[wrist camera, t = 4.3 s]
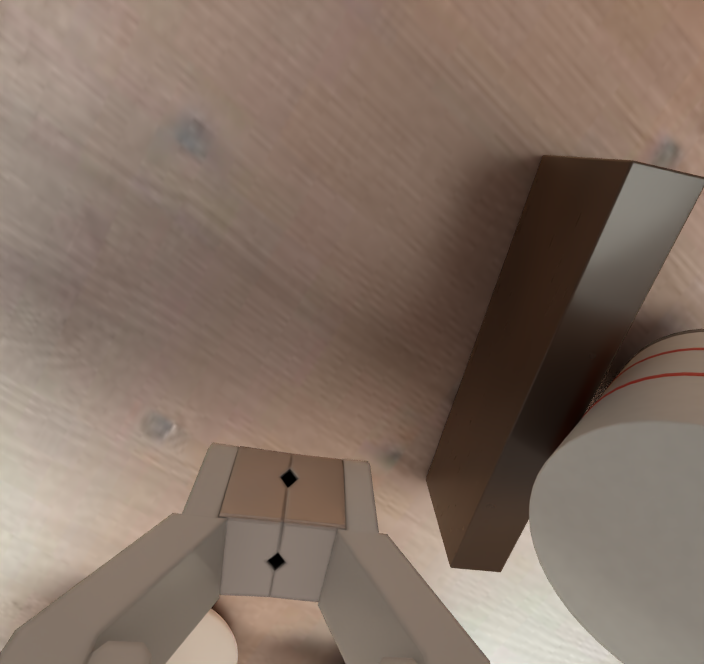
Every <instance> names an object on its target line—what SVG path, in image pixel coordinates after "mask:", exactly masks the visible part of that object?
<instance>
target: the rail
mask: <svg viewBox="0 0 704 664" xmlns="http://www.w3.org/2000/svg"><path fill="white" fill-rule="evenodd" d="M703 188H704V177H701V176H697V175H693V174H689V173H684V172H680V171H676V170H672V169H667V168H663V167H659V166H655V165H650V164H646V163H642V162H638V161H633V160H618V159H602V158H586V157H570V156H555V155H543V157H542V160H541V163H540V165H539V168H538V171H537V174H536V176H535V179H534V182H533V185H532V187H531V190H530V193H529V196H528V198H527V201H526V204H525V207H524V210H523V212H522V215H521V218H520V221H519V223H518V226H517V229H516V232H515V234H514V237H513V240H512V243H511V246H510V248H509V251H508V254H507V257H506V259H505V262H504V265H503V268H502V270H501V273H500V276H499V279H498V281H497V284H496V287H495V290H494V293H493V295H492V298H491V301H490V304H489V306H488V309H487V312H486V315H485V317H484V320H483V323H482V326H481V329H480V331H479V334H478V337H477V340H476V342H475V345H474V348H473V351H472V353H471V356H470V359H469V362H468V364H467V367H466V370H465V373H464V376H463V378H462V381H461V384H460V387H459V389H458V392H457V395H456V398H455V400H454V403H453V406H452V409H451V412H450V414H449V417H448V420H447V423H446V425H445V428H444V431H443V434H442V436H441V439H440V442H439V445H438V448H437V450H436V453H435V456H434V459H433V461H432V464H431V467H430V470H429V472H428V475H427V478H426V482H427V486H428V489H429V493H430V497H431V500H432V504H433V507H434V511H435V514H436V518H437V522H438V525H439V529H440V532H441V536H442V539H443V543H444V546H445V550H446V554H447V557H448V561H449V564H450V567H451V568H459V569H470V570H482V571H493V572H501V571H502V569H503V567H504V565H505V563H506V561H507V559H508V558H509V556H510V554H511V552H512V550H513V548H514V546H515V544H516V542H517V540H518V539H519V537H520V535H521V533H522V531H523V529H524V527H525V525H526V523H527V522H528V520H529V504H530V497H531V492H532V488H533V485H534V482H535V480H536V478H537V475H538V473H539V472H540V470H541V468H542V467H543V465H544V464H545V462H546V461H547V460H548V459H549V457H550V456H551V455H552V454H553V453H554V451H555V450H556V449H557V448H558V447H559V445H560V444H561V443H562V442H563V441H564V439H565V438H566V437H567V436H568V435H569V433H570V432H571V431H572V430H573V429H574V427H575V426H576V425H577V424H578V423H579V421H580V420H581V419H582V417H583V415H584V414H585V412H586V410H587V408H588V406H589V404H590V402H591V400H592V398H593V396H594V395H595V393H596V391H597V389H598V387H599V385H600V383H601V381H602V379H603V378H604V376H605V374H606V372H607V370H608V368H609V366H610V364H611V362H612V360H613V359H614V357H615V355H616V353H617V351H618V349H619V347H620V345H621V343H622V342H623V340H624V338H625V336H626V334H627V332H628V330H629V328H630V326H631V324H632V323H633V321H634V319H635V317H636V315H637V313H638V311H639V309H640V307H641V306H642V304H643V302H644V300H645V298H646V296H647V294H648V292H649V290H650V288H651V287H652V285H653V283H654V281H655V279H656V277H657V275H658V273H659V271H660V270H661V268H662V266H663V264H664V262H665V260H666V258H667V256H668V254H669V252H670V251H671V249H672V247H673V245H674V243H675V241H676V239H677V237H678V235H679V234H680V232H681V230H682V228H683V226H684V224H685V222H686V220H687V218H688V216H689V215H690V213H691V211H692V209H693V207H694V205H695V203H696V201H697V199H698V197H699V196H700V194H701V192H702V190H703Z"/></svg>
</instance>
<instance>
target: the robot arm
mask: <svg viewBox="0 0 704 664" xmlns="http://www.w3.org/2000/svg"><path fill="white" fill-rule="evenodd" d="M219 595H235V596H258V597H274V598H283V599H293V600H302V601H312V602H319V603H318V606H319V608H320V610H321V612H322V614H323V617H324V619H325V621H326V623H327V625H328V627H329V629H330V632H331V634H332V636H333V638H334V640H335V642H336V644H337V646H338V649H339V651H340V653H341V655H342V657H343V659H344V661H345V664H490V661H489V660H488V658H487V657H486V656H485V655H484V653H483V652H482V651H481V650H480V648H479V647H478V646H477V645H476V643H475V642H474V641H473V640H472V639H471V637H470V636H469V635H468V634H467V632H466V631H465V630H464V629H463V627H462V626H461V625H460V624H459V623H458V621H457V620H456V619H455V618H454V616H453V615H452V614H451V613H450V611H449V610H448V609H447V608H446V606H445V605H444V604H443V603H442V602H441V600H440V599H439V598H438V597H437V595H436V594H435V593H434V592H433V590H432V589H431V588H430V587H429V585H428V584H427V583H426V582H425V581H424V579H423V578H422V577H421V576H420V574H419V573H418V572H417V571H416V569H415V568H414V567H413V566H412V565H411V563H410V562H409V561H408V560H407V558H406V557H405V556H404V555H403V553H402V552H401V551H400V550H399V548H398V547H397V546H396V545H395V544H394V542H393V541H392V540H391V539H390V537H389V536H388V535H387V534H380V533H379V531H378V523H377V515H376V507H375V500H374V492H373V484H372V476H371V469H370V464H369V463H368V461H360V460H350V459H336V458H328V457H319V456H310V455H301V454H292V453H285V452H278V451H271V450H264V449H257V448H250V447H243V446H240V447H238V446H232V445H226V444H219V443H212V444H211V445H210V447H209V448H208V450H207V453H206V455H205V457H204V460H203V462H202V465H201V467H200V470H199V472H198V475H197V477H196V480H195V482H194V485H193V487H192V490H191V492H190V495H189V497H188V500H187V502H186V505H185V507H184V510H183V512H182V514H177V513H172V514H171V515H170V516H168V517H167V518H166V519H164V520H163V521H162V522H160V523H159V524H158V525H156V526H155V527H153V528H152V529H151V530H149V531H148V532H147V533H145V534H144V535H143V536H141V537H140V538H139V539H137V540H136V541H135V542H133V543H132V544H131V545H129V546H128V547H127V548H125V549H124V550H123V551H121V552H120V553H119V554H117V555H116V556H115V557H113V558H112V559H111V560H109V561H108V562H106V563H105V564H104V565H102V566H101V567H100V568H98V569H97V570H96V571H94V572H93V573H92V574H90V575H89V576H88V577H86V578H85V579H84V580H82V581H81V582H80V583H78V584H77V585H76V586H74V587H73V588H72V589H70V590H69V591H68V592H66V593H65V594H64V595H62V596H61V597H59V598H58V599H57V600H55V601H54V602H53V603H51V604H50V605H49V606H47V607H46V608H45V609H43V610H42V611H41V612H39V613H38V614H37V615H35V616H34V617H33V618H31V619H30V620H29V621H27V622H26V623H25V624H23V625H22V626H21V627H19V628H18V629H16V630H15V631H14V633H13V634H12V636H11V638H10V639H9V641H8V642H7V644H6V645H5V647H4V648H3V650H2V651H1V653H0V664H166V662H167V661H168V660H169V659H170V658H171V656H172V655H173V654H174V653H175V651H176V650H177V649H178V648H179V647H180V645H181V644H182V643H183V642H184V641H185V639H186V638H187V637H188V636H189V634H190V633H191V632H192V631H193V630H194V628H195V627H196V626H197V625H198V623H199V622H200V621H201V620H202V619H203V617H204V616H205V615H206V614H207V613H208V611H209V610H210V609H211V608H212V606H213V605H214V604H215V603H216V602H217V600H218V599H219Z"/></svg>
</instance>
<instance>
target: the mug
mask: <svg viewBox="0 0 704 664" xmlns="http://www.w3.org/2000/svg"><path fill="white" fill-rule="evenodd" d="M237 660H238V648H237V643H236V640H235V637H234V635H233V633H232V631H231V629H230V627H229V626H228V624H227V623H226V622H225V620H224V619H223V618H222V617H221V616H220V615H219V614H218V613H217V612H215V611H214V610H213V609H210V610H209V611H208V613H207V614H206V615H205V616H204V617H203V619H202V620H201V621H200V622H199V623H198V625H197V626H196V627H195V628H194V630H193V631H192V632H191V633H190V634H189V636H188V637H187V638H186V639H185V641H184V642H183V643H182V644H181V645H180V647H179V648H178V649H177V650H176V651H175V653H174V654H173V655H172V656H171V658H170V659H169V660H168V661H167V662H166V664H237Z"/></svg>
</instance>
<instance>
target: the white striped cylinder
mask: <svg viewBox="0 0 704 664" xmlns="http://www.w3.org/2000/svg"><path fill="white" fill-rule="evenodd" d="M529 522H530V532H531V536H532V540H533V545H534V548H535V551H536V554H537V556H538V559H539V562H540V564H541V566H542V568H543V570H544V572H545V575H546V577H547V579H548V580H549V582H550V584H551V585H552V587H553V589H554V590H555V592H556V594H557V595H558V596H559V598H560V599H561V601H562V602H563V603H564V605H565V606H566V607H567V609H568V610H569V611H570V613H571V614H572V615H573V616H574V617H575V618H576V619H577V621H578V622H579V623H580V624H581V625H582V626H583V627H584V628H585V629H586V630H587V631H588V632H589V633H590V634H591V635H592V636H593V637H594V638H595V639H596V640H597V641H598V642H599V643H600V644H601V645H602V646H603V647H604V648H605V649H607V650H608V651H609V652H610V653H611V654H612V655H614V656H615V657H616V658H617V659H618V660H620V661H621V662H622V663H624V664H704V329H696V330H688V331H683V332H679V333H674V334H672V335H669V336H666V337H663V338H661V339H659V340H656V341H654V342H652V343H651V344H649V345H647V346H646V347H644V348H643V349H641V350H640V351H639V352H638V353H637V354H635V355H634V356H633V357H632V359H631V360H630V361H629V362H628V363H627V364H626V365H625V367H624V368H623V370H622V371H621V372H620V374H619V375H618V376H617V377H616V378H615V379H614V380H613V381H612V382H611V383H610V385H609V386H608V387H607V388H606V390H605V391H604V393H603V394H602V395H601V396H600V397H599V399H598V400H597V401H596V402H595V403H594V404H593V405H592V406H591V407H590V409H589V410H588V411H587V412H586V413H585V414H584V415H583V417H582V419H581V420H580V421H579V423H578V424H577V425H576V426H575V427H574V429H573V430H572V431H571V432H570V433H569V435H568V436H567V437H566V438H565V439H564V441H563V442H562V443H561V444H560V445H559V447H558V448H557V449H556V450H555V451H554V453H553V454H552V455H551V456H550V457H549V459H548V460H547V461H546V462H545V464H544V465H543V467H542V468H541V470H540V472H539V473H538V475H537V478H536V480H535V482H534V485H533V488H532V492H531V497H530V504H529Z"/></svg>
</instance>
